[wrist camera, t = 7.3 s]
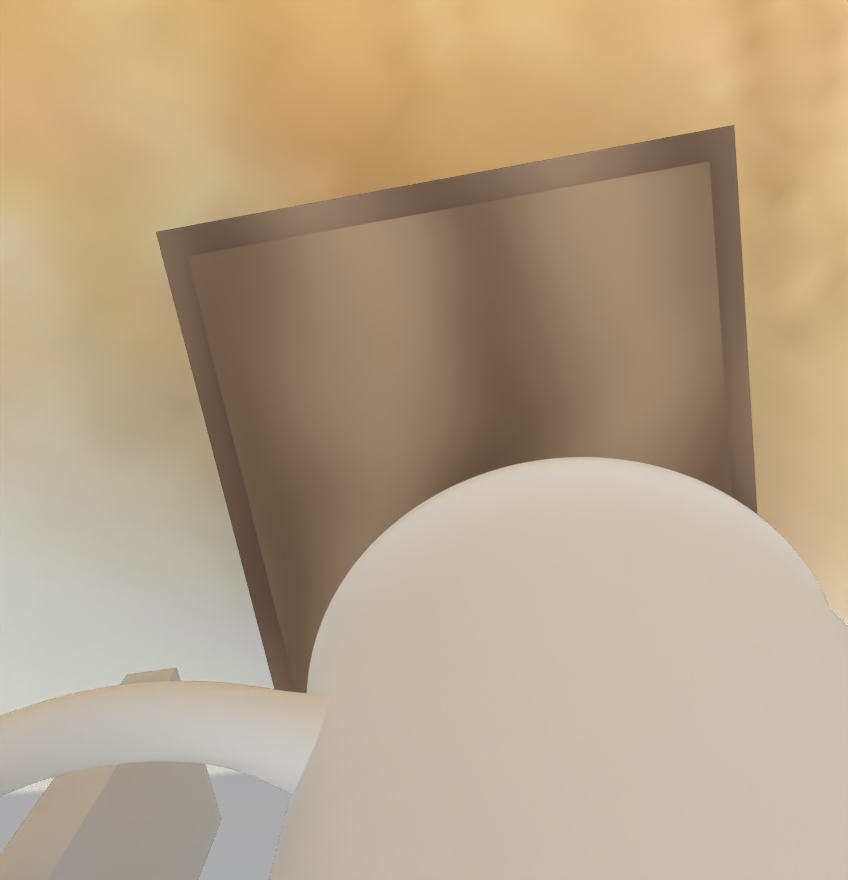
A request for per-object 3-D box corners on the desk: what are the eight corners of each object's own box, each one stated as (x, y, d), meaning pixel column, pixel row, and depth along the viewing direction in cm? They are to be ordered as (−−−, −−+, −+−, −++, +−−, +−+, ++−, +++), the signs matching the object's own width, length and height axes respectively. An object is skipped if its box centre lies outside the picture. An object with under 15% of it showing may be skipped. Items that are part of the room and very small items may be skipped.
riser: (308, 638, 30) (280, 722, 25) (209, 229, 26) (152, 232, 21) (713, 581, 29) (769, 657, 24) (679, 143, 25) (738, 123, 20)
